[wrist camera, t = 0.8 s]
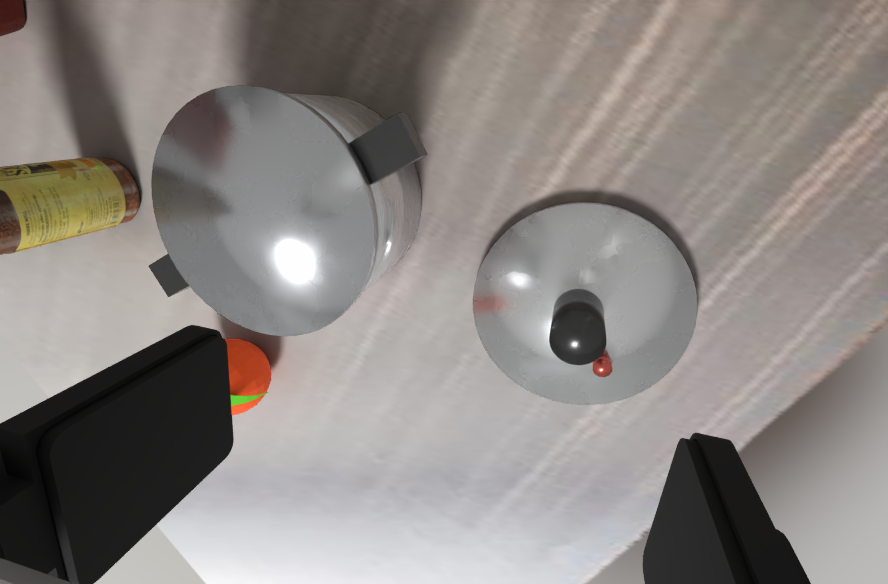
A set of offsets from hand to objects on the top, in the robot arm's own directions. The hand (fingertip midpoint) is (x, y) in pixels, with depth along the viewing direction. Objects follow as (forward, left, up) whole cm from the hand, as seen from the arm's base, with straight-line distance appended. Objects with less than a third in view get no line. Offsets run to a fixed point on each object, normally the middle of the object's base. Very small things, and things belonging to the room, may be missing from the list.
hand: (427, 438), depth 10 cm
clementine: (+31, +2, -28) cm, 42 cm away
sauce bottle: (+35, -18, -28) cm, 48 cm away
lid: (+1, +8, -28) cm, 29 cm away
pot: (+15, -8, -28) cm, 32 cm away
